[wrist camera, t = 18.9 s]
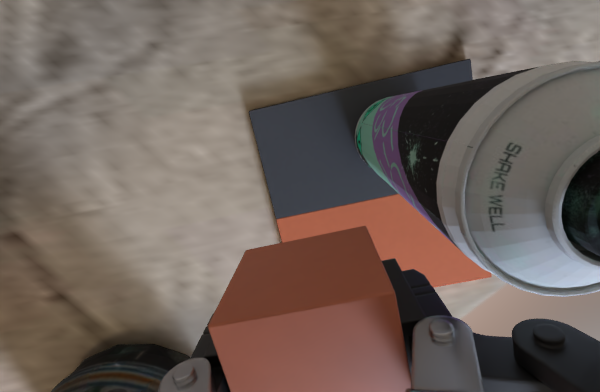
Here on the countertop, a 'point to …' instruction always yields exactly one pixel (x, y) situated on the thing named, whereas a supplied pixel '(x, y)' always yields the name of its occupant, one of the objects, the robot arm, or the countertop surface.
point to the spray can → (502, 170)
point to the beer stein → (123, 369)
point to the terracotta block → (312, 319)
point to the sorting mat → (352, 176)
